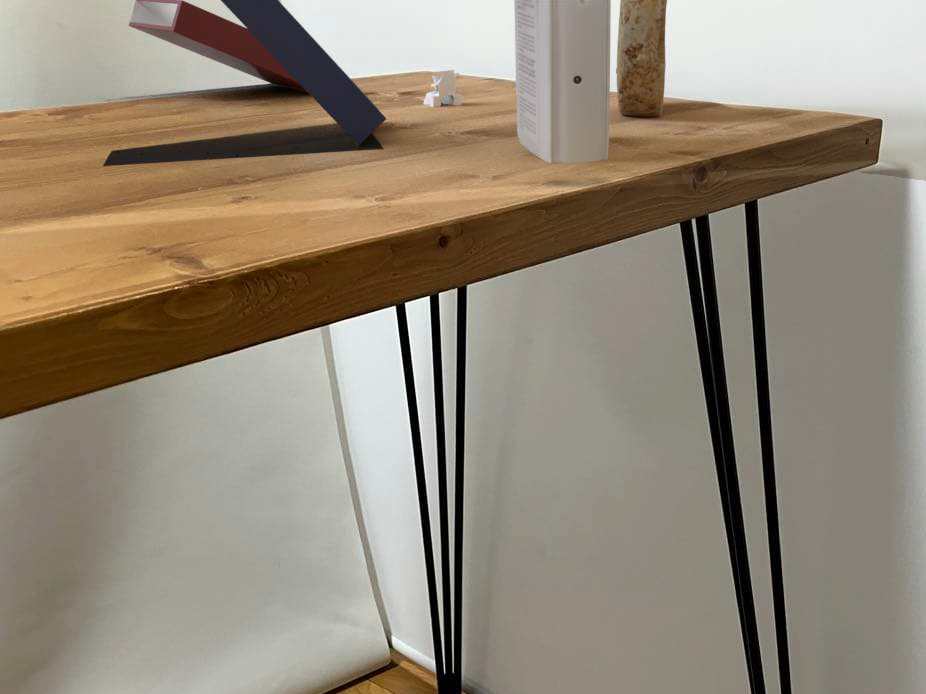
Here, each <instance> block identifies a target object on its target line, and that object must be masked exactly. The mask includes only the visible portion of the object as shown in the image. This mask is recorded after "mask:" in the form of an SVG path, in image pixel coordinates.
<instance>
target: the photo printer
mask: <svg viewBox="0 0 926 694" xmlns="http://www.w3.org/2000/svg"><path fill="white" fill-rule="evenodd" d="M513 1H514V2H513V3H514V40H515V41H514V46H515V47H514V48H515V99H516V101H515V104H516V108H515V109H516V133H517V139H518V140H517V141H518V143H520V144H521V145H522V146H523V147H524V148H525V149H526V150H527V151H529V152H531V154H533V155H534V156H535V157H537V158H539V159H540V160H542V161H544V162H546V163H549V164H589V163H595V162H599V161H607V160H608V157H609V148H610V105H611V104H610V99H611V98H610V97H611V95H610V94H611V93H610V92H611V91H610V90H611V17H612V16H611V14H612V13H611V12H612V11H611V9H612V4H611V3H612V1H611V0H513Z"/></svg>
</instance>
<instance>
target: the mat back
mask: <svg viewBox="0 0 926 694" xmlns="http://www.w3.org/2000/svg"><path fill="white" fill-rule="evenodd" d="M243 88H244V89H243ZM254 88H255V90H254ZM260 89H262V90H260ZM272 89H273V90H272ZM276 89H277V90H276ZM301 92H304V93H301ZM191 93H193V94H191ZM212 93H213V94H212ZM276 93H278V94H276ZM190 94H191V101H192V103H193V104H196V102H198V100H199V99H200V98H204V97H205V99H208V97H211V99H212V100H213V98H215V99H218V96H222V99H223V100H222V99H221V102H222V101H223V102H224V103H223V104H221V105H227V104H225V103H226V102H227V103H228V104H229V102H228V101H226V100H232V99H233V100H234V98H235V99H237V98H238V99H243V98H248V100H250V98H251V97H249V95H251V94H253V95H255V98H254V97H252V98H253V99H255V100H256V99H258V100H259V99H260V95H262V96H265V97H267V98H269V97H268V96H269V95H273V96H275V97H276V98H277V97H282V95H285V94H288V96H290V95H291V96H293V95H294V94H295V95H294V97H297V98H299V96H300V95H299V96H298V94H301V96H303V97H309V96H308V95H309V93H308V92H307V91H306V90H301V89H296V92H295V88H292V91H289V88H288V87H285V86H280V85H274V84H270V83H264V84H258V86H257V84H256V85H253V87H251V85H246V86H245V85H244V86H238V87H237V86H236V87H235V86H233V87H229V89H228V90H226V87H222V88H218V89H216V90H212V89H210V88H209V89H205V91H204V90H194V91H193V90H192V91H184V92H183V91H182V92H177V93H175V92H173V93H172V92H171V93H161V94H153V95H151V94H150V95H141V97H138V96H135V97H131V103H132V104H137V106H138V104H139V103H141V99H146V98H150V97H151V98H155V99H158V97H159V99H160V100H163V101H162V103H161V104H162V105H163V103H164V104H165V103H166V104H165V106H166V105H167V104H168V105H171V104H170V103H169V102H170V100H174V98H175V99H176V100H178V99H179V98H184V99H186V100H189V97H190ZM235 94H238V95H236V96H233V95H235ZM243 94H244V95H243ZM258 94H260V95H258ZM303 94H304V95H303ZM207 95H208V96H207ZM276 95H277V96H276ZM296 95H297V96H296ZM169 97H170V98H169ZM212 97H213V98H212ZM252 98H251V100H250V101H251V104H252V103H253V101H254V100H253V101H252ZM267 98H266V99H267ZM276 98H275V99H276ZM289 98H290V99H291V98H292V97H289ZM301 98H302V97H301ZM301 98H299V100H301ZM128 99H129V96H127V97H125V100H128ZM286 99H288V98H287V97H286ZM302 99H303V98H302ZM311 99H313V100H314V98H313V97H312V98H311ZM103 100H104V101H105V99H103ZM121 100H124V98H123V97H122V98H121ZM196 100H197V101H196ZM294 100H296V99H295V98H294ZM194 101H196V102H194ZM199 101H200V100H199ZM259 101H260V100H259ZM281 101H282V102H283V100H282V99H281ZM288 101H289V100H288ZM105 102H110V99H106V101H105ZM138 102H139V103H138ZM254 102H255V101H254ZM192 103H191V104H192ZM196 105H197V106H200V105H199V104H196ZM229 105H230V104H229ZM139 106H140V104H139ZM163 106H164V105H163ZM193 107H194V105H193Z"/></svg>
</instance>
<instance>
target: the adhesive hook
mask: <svg viewBox="0 0 926 694" xmlns="http://www.w3.org/2000/svg"><path fill="white" fill-rule="evenodd" d="M459 77H461V74H460V72H455V70H454V69H449V70H439V71H437V70H436V71H435V75H432V76H431V78H432V80H433V82H434V83H430V87H432V88H434V90H433V91H430V92H427V93H426V95H425V97H424V99H423V103H422V105H425V106H429V107H431V108H438V107H441V106H442V104H444V105H452V106H461V105H463V101H464V96H463V95H462V94H460V93H458V92H457V91H458V86H457V78H459Z"/></svg>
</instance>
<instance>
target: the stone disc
mask: <svg viewBox="0 0 926 694" xmlns="http://www.w3.org/2000/svg"><path fill="white" fill-rule="evenodd" d="M619 3H620V4H619V16H618V17H619V18H618V30H617V31H618V32H617V48H616V68H615V73H616V94H617V102H618V103H617V107H618V112H619V113H620V114H621V115H623V116H627V117H640V118H641V117H642V118H658V117H662V115H663V109H664V97H665V83H666V67H667V66H666V23H667V22H666V21H667V19H666V18H667V5H668V0H620V2H619Z"/></svg>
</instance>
